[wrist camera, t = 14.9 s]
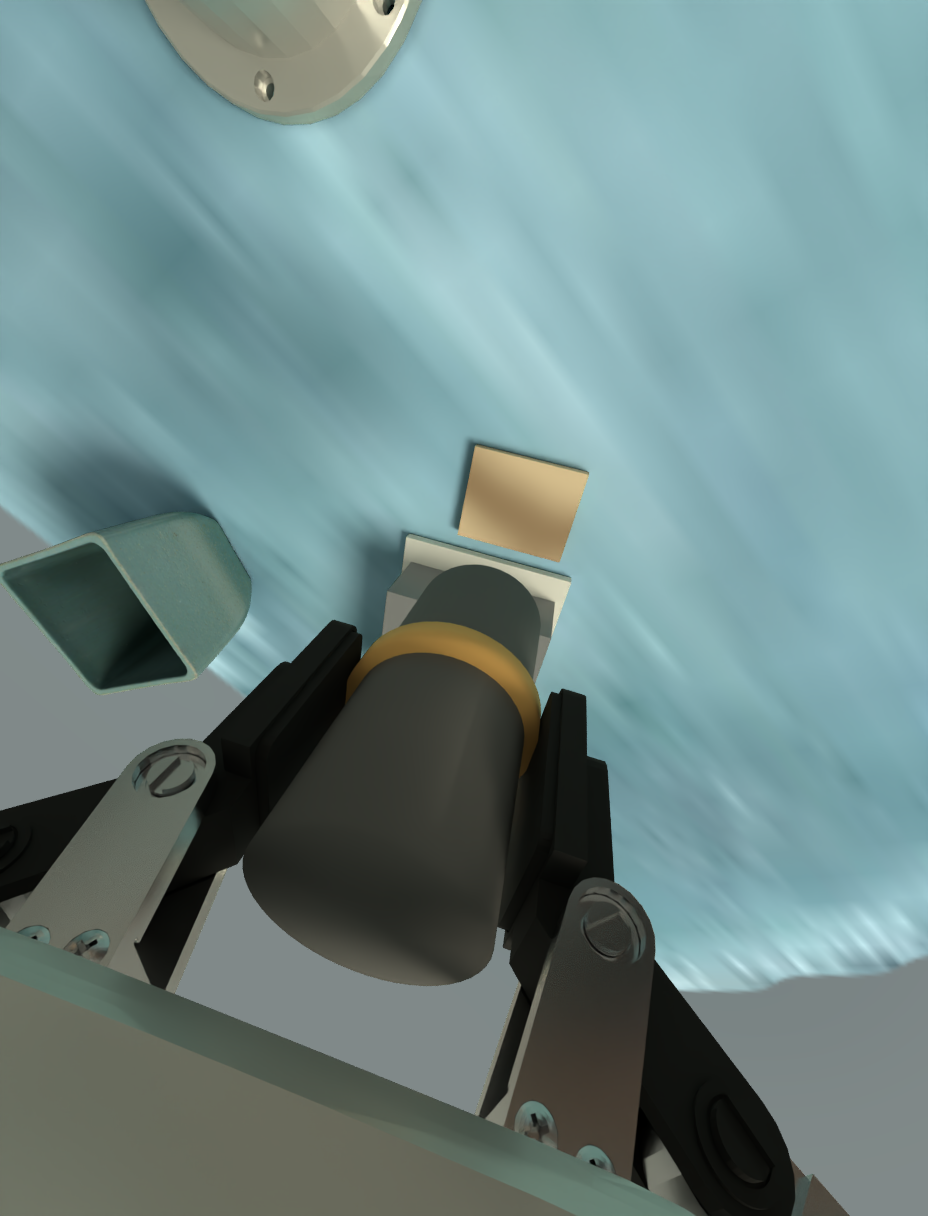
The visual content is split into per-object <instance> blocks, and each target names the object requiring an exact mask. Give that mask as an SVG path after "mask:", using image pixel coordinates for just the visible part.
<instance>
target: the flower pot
mask: <svg viewBox="0 0 928 1216" xmlns="http://www.w3.org/2000/svg"><path fill="white" fill-rule="evenodd" d="M0 583H1V585H2V586H3V587H4V588H5V589H6V591H7V592H8V593H9V595H10V596H11V597H12V598H13V599H14V600H15V602H16V603H17V604H18V605H19V606H20V607H21V608H22V609H23V610H24V612H25V613H26V614H27V615H28V616H29V618H30V619H31V620H32V621H33V622H34V623H35V625H36V626H37V627H38V628H39V629H40V631H41V632H42V633H43V634H44V635H45V637H46V638H47V639H48V640H49V641H50V643H52V645H53V646H54V647H55V648H56V649H57V650H58V652H59V653H60V654H61V655H62V656H63V657H64V659H65V660H66V661H67V662H68V664H70V666H71V667H72V668H73V670H74V671H75V672H76V673H77V674H78V676H79V677H80V678H81V679H82V681H83V682H84V683H85V684H86V686H87V687H89V688H90V689H91V690H92V691H93V692H94V693H95V694H97V695H106V694H111V693H117V692H123V691H127V690H133V689H139V688H145V687H150V686H157V685H165V684H171V683H178V682H186V681H191V680H194V679H196V678H198V677H199V675H200V674H201V673H202V672H203V671H204V670H205V669H206V668H207V666H208V665H209V664H210V663H211V662H212V661H213V660H214V659H215V657H216V656H217V655H218V654H219V653H220V652H221V651H222V649H223V648H224V647H225V646H226V645H227V644H228V642H229V641H230V640H231V639H232V638H233V637H234V635H235V634H236V633H237V631H238V630H239V629H240V627H241V626H242V624H243V622H244V620H245V618H246V616H247V613H248V610H249V607H250V602H251V589H252V588H251V580H250V578H249V576H248V574H247V573H246V571H245V569H244V568H243V566H242V564H241V563H240V561H239V559H238V557H237V556H236V554H235V552H234V550H233V549H232V547H231V545H230V543H229V542H228V540H227V538H226V536H225V534H224V533H223V531H222V529H221V527H220V526H219V524H218V523H217V522H216V521H215V520H214V519H212V518H209V517H207V516H204V515H201V514H197V513H192V512H170V513H164V514H159V515H154V516H150V517H147V518H143V519H139V520H135V521H131V522H128V523H124V524H120V525H116V526H113V527H109V528H106V529H102V530H98V531H95V532H91V533H87V534H84V535H82V536H79V537H76V538H74V539H71V540H69V541H66V542H63V543H61V544H58V545H55V546H53V547H49V548H47V549H44V550H41V551H38V552H35V553H32V554H29V555H26V556H23V557H20V558H17V559H14V560H11V561H8V562H5V563H2V564H0Z"/></svg>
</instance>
